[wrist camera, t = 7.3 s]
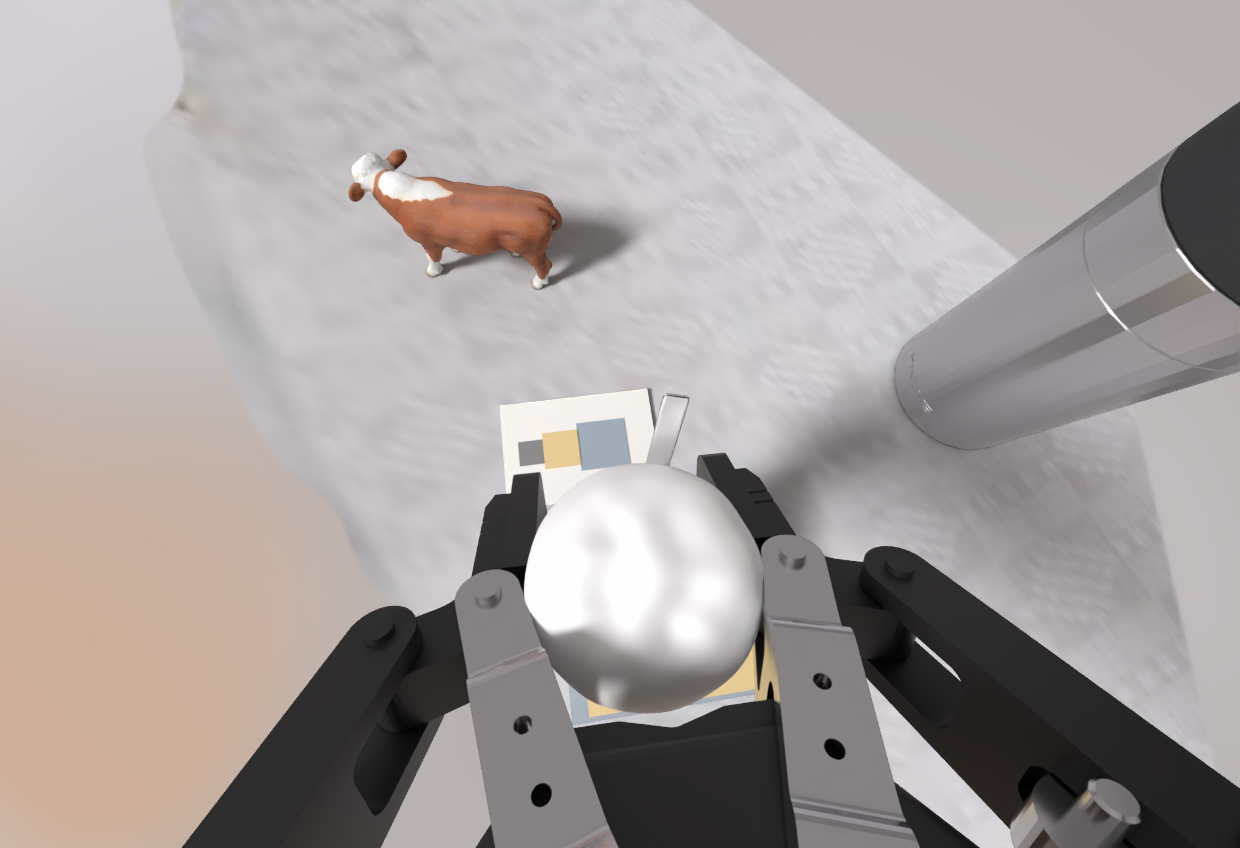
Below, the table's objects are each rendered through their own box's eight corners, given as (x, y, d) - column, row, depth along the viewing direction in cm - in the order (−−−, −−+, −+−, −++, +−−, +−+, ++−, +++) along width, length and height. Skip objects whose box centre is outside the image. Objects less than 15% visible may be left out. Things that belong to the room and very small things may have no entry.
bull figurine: (395, 219, 37) (341, 125, 29) (571, 253, 37) (564, 168, 29) (376, 269, 36) (314, 185, 28) (558, 304, 35) (547, 230, 28)
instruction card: (646, 389, 34) (647, 387, 33) (663, 490, 32) (663, 489, 32) (500, 407, 33) (499, 405, 33) (508, 510, 31) (507, 510, 31)
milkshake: (691, 496, 18) (808, 412, 8) (677, 655, 16) (802, 773, 7) (568, 479, 18) (547, 374, 8) (542, 637, 16) (478, 731, 7)
